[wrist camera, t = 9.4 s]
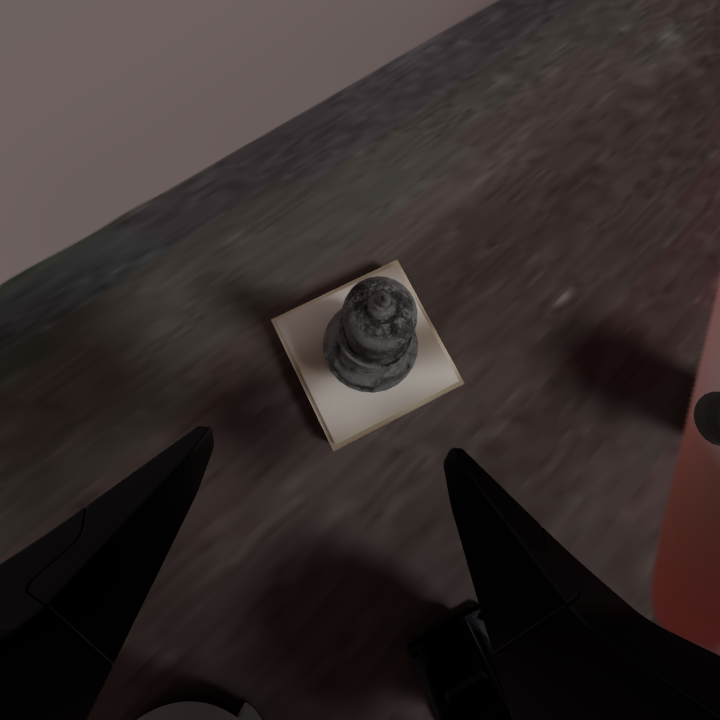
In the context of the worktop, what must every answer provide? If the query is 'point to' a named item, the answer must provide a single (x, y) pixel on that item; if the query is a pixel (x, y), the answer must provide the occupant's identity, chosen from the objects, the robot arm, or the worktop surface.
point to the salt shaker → (373, 336)
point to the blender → (199, 712)
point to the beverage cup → (709, 417)
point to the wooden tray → (343, 404)
